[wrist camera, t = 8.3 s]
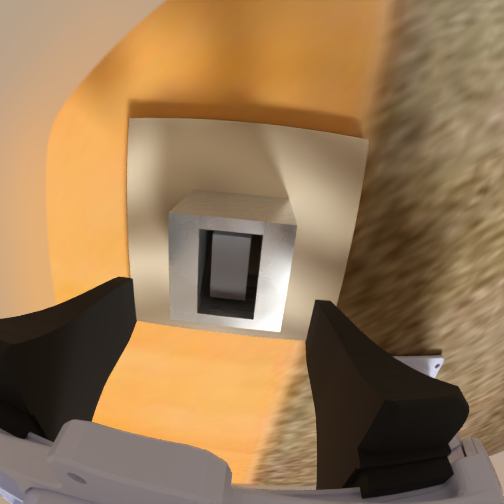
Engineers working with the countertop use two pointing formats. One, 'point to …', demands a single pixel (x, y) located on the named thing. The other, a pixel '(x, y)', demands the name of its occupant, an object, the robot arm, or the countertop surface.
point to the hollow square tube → (200, 256)
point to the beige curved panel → (243, 182)
